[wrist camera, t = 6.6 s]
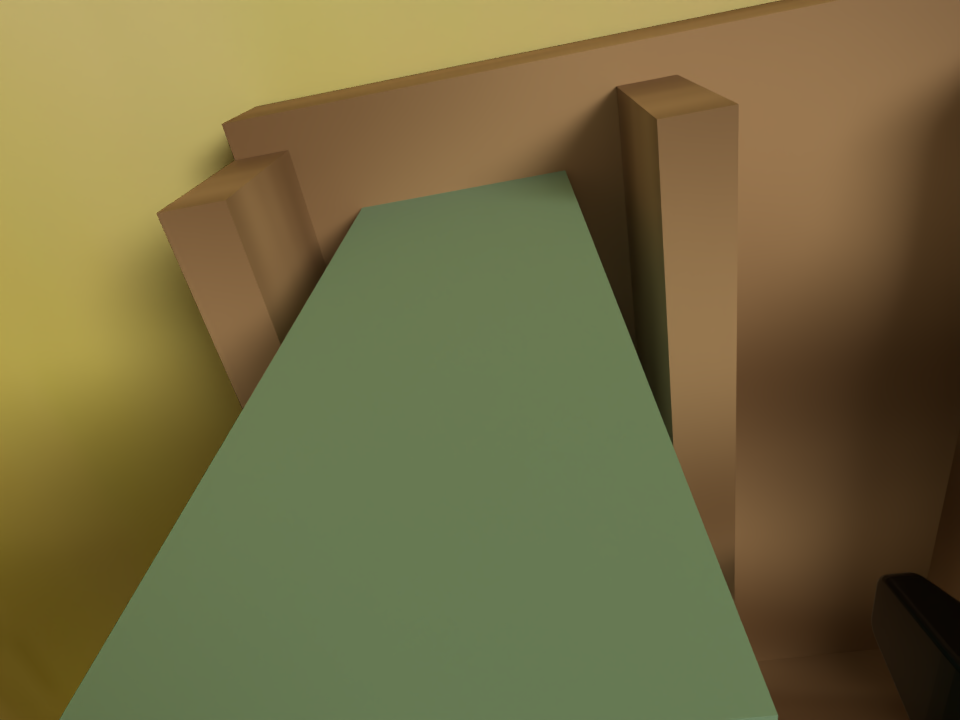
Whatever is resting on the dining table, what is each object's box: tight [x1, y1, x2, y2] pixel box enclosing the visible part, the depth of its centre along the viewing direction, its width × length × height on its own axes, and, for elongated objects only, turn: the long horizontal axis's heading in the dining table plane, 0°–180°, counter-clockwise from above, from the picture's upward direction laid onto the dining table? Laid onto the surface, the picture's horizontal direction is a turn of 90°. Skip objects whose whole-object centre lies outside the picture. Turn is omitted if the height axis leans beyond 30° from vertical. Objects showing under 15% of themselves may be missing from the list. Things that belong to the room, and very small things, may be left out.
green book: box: [60, 170, 778, 720], centre depth 8 cm, size 10×3×8 cm, turn 11°
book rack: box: [157, 0, 960, 720], centre depth 9 cm, size 14×17×8 cm
